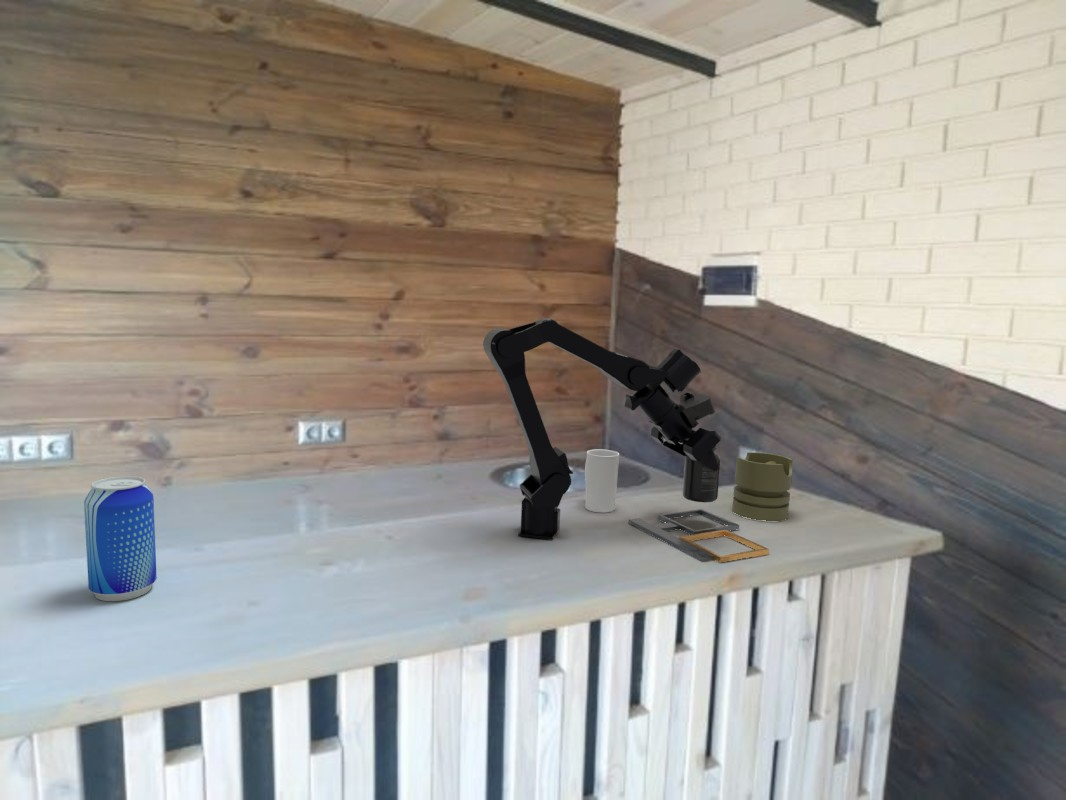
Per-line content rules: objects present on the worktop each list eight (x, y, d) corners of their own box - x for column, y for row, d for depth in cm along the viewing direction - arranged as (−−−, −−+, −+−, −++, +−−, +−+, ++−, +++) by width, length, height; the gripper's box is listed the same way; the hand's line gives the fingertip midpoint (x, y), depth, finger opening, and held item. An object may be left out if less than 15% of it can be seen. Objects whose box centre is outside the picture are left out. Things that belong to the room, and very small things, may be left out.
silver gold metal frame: (708, 565, 121) (709, 559, 121) (628, 523, 142) (628, 518, 142) (787, 551, 130) (788, 545, 129) (700, 513, 150) (701, 508, 150)
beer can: (109, 609, 96) (103, 494, 94) (77, 593, 101) (70, 483, 98) (169, 588, 104) (165, 481, 101) (136, 575, 108) (132, 471, 106)
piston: (728, 457, 149) (748, 450, 158) (723, 513, 151) (744, 502, 160) (782, 467, 143) (800, 458, 151) (776, 525, 144) (795, 513, 153)
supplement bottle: (718, 496, 144) (723, 437, 142) (715, 505, 138) (721, 443, 136) (684, 491, 146) (688, 434, 145) (679, 500, 140) (684, 439, 138)
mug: (622, 511, 150) (625, 455, 148) (594, 514, 147) (597, 457, 145) (597, 498, 158) (600, 445, 157) (570, 501, 156) (573, 447, 154)
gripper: (715, 387, 129) (763, 447, 133) (669, 375, 146) (712, 428, 151) (672, 430, 128) (722, 489, 132) (630, 412, 145) (676, 465, 150)
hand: (708, 465), depth 141 cm, fingers closed on supplement bottle, 7 cm apart
